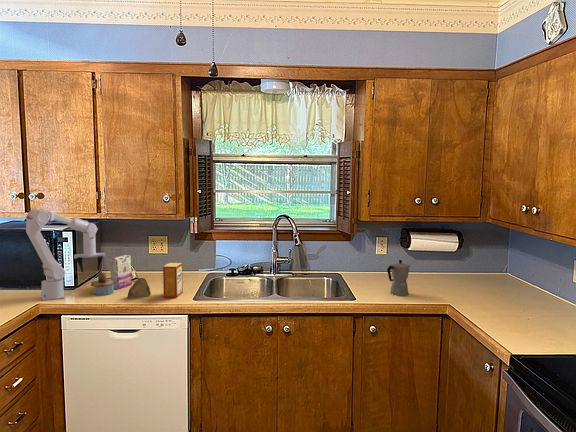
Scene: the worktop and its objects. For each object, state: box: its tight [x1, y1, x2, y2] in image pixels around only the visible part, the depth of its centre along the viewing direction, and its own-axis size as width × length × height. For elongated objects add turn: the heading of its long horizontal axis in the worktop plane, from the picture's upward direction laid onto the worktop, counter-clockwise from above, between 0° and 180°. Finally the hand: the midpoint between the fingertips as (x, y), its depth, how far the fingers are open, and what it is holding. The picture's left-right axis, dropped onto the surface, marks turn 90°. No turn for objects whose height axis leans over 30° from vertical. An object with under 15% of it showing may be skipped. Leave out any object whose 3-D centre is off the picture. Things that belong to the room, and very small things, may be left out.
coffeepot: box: [386, 259, 411, 297], centre depth 216 cm, size 15×9×18 cm, turn 119°
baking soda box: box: [162, 262, 184, 299], centre depth 210 cm, size 10×6×16 cm
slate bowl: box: [94, 284, 115, 297], centre depth 212 cm, size 9×9×4 cm
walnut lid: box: [90, 272, 113, 288], centre depth 213 cm, size 10×10×6 cm
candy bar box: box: [109, 254, 133, 290], centre depth 225 cm, size 11×5×16 cm, turn 161°
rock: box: [126, 277, 152, 299], centre depth 208 cm, size 11×9×10 cm
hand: (90, 271), depth 218 cm, fingers open, 7 cm apart
